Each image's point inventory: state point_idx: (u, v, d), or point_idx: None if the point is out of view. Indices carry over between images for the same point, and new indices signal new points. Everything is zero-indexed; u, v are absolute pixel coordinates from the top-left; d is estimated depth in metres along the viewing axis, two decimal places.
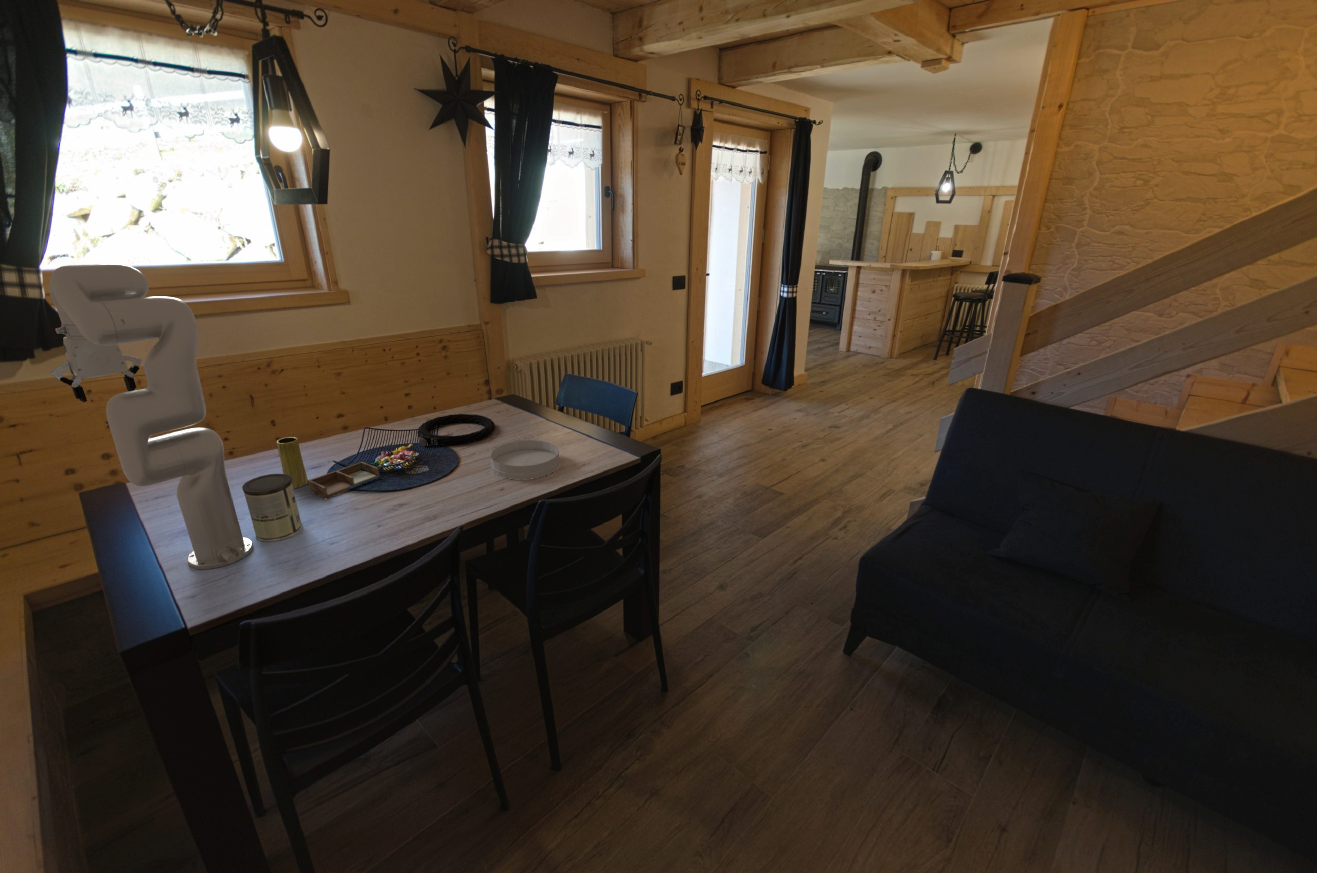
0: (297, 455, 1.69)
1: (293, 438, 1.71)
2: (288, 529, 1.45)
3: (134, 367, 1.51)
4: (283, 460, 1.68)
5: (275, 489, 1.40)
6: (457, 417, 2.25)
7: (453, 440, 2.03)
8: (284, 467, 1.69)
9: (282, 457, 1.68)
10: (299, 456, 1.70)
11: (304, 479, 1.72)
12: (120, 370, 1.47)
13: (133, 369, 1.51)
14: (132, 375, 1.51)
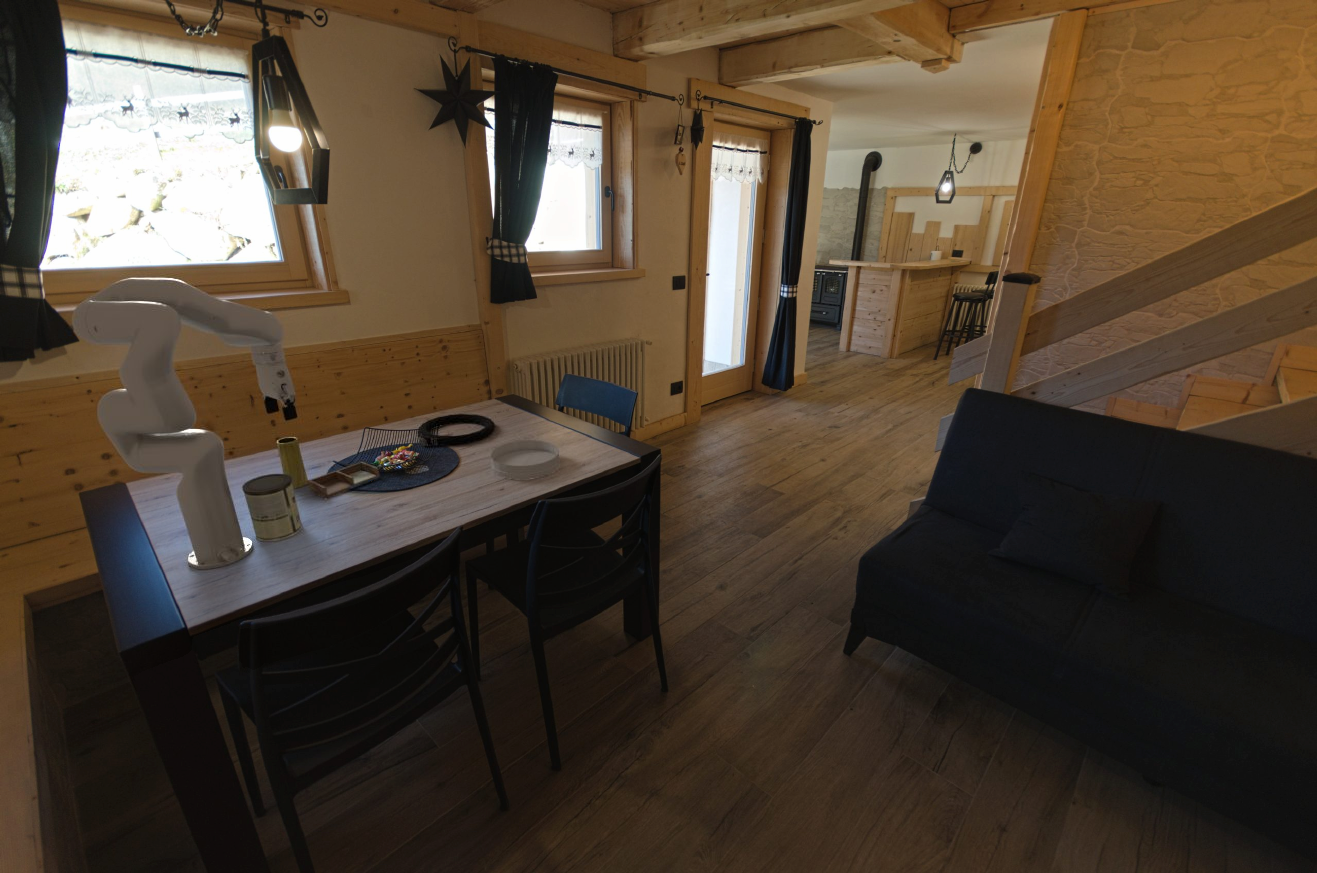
0: (297, 455, 1.69)
1: (293, 438, 1.71)
2: (288, 529, 1.45)
3: None
4: (283, 460, 1.68)
5: (275, 489, 1.40)
6: (457, 417, 2.25)
7: (453, 440, 2.03)
8: (284, 467, 1.69)
9: (282, 457, 1.68)
10: (299, 456, 1.70)
11: (304, 479, 1.72)
12: None
13: None
14: None
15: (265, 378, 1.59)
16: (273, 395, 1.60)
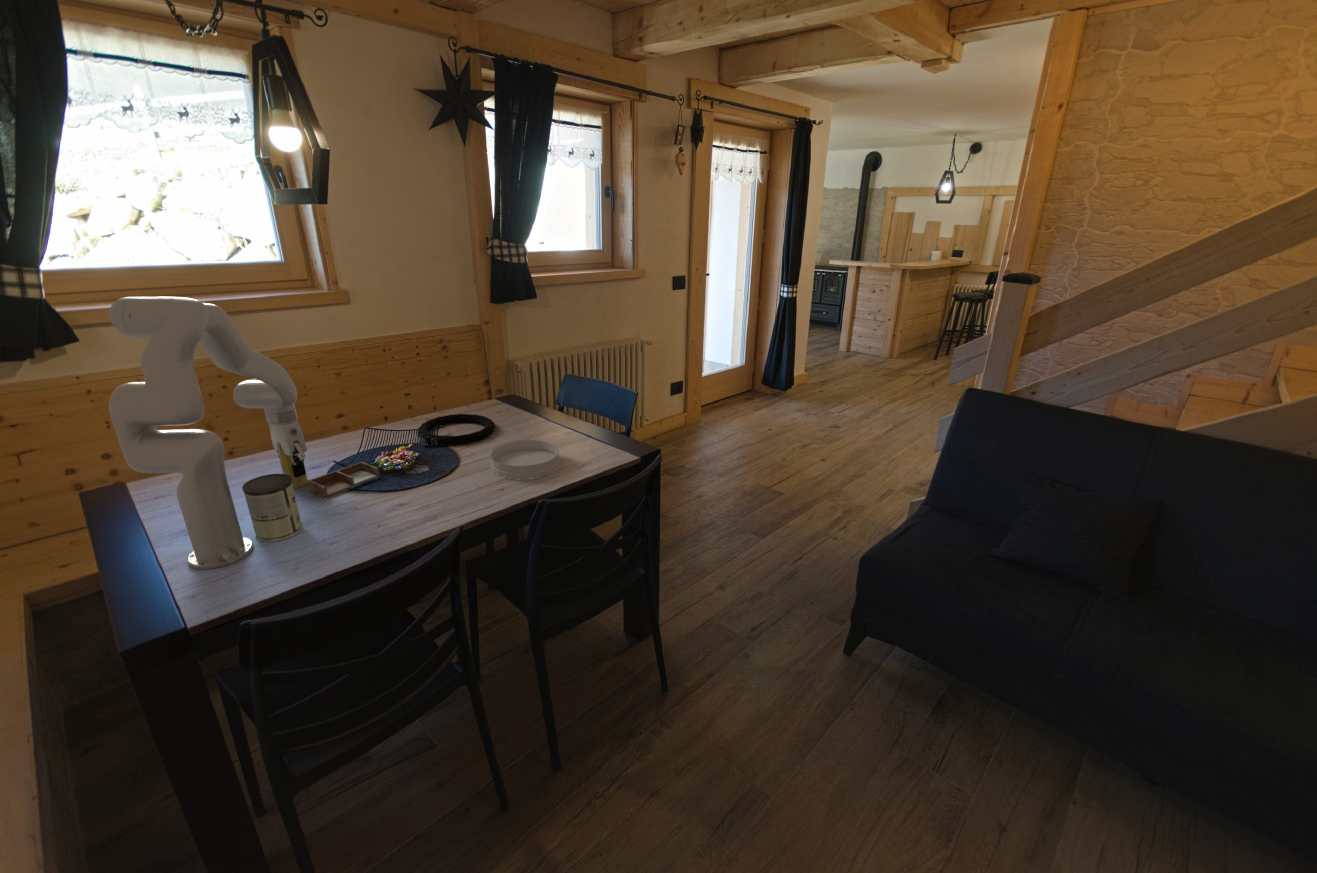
0: (297, 455, 1.69)
1: None
2: (288, 529, 1.45)
3: None
4: (283, 460, 1.68)
5: (275, 489, 1.40)
6: (457, 417, 2.25)
7: (453, 440, 2.03)
8: (284, 467, 1.69)
9: (282, 457, 1.68)
10: None
11: (304, 479, 1.73)
12: None
13: None
14: None
15: (278, 436, 1.65)
16: (285, 452, 1.66)
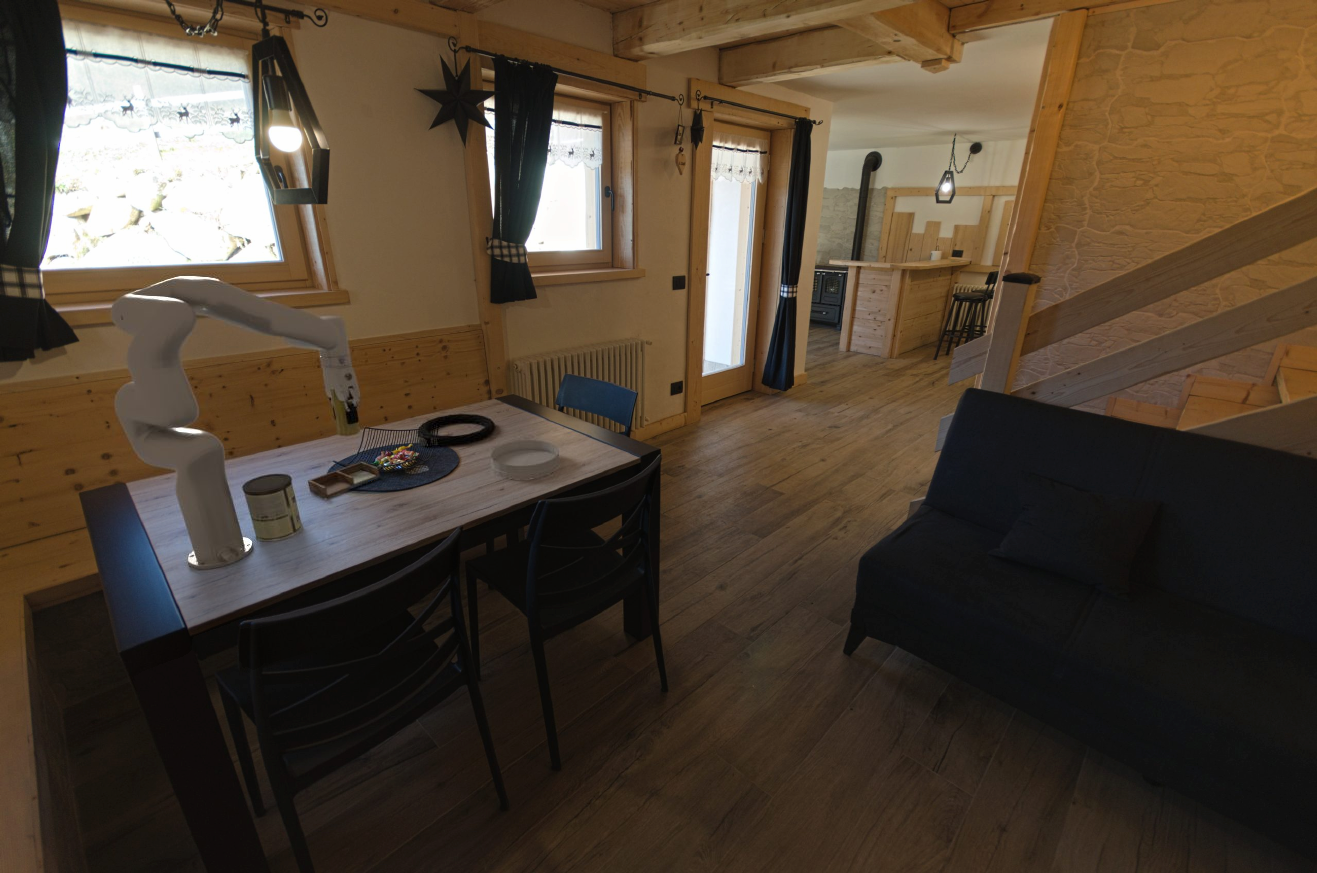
0: None
1: None
2: (288, 529, 1.45)
3: None
4: (337, 406, 1.66)
5: (275, 489, 1.40)
6: (457, 417, 2.25)
7: (453, 440, 2.03)
8: (337, 414, 1.66)
9: (336, 403, 1.65)
10: None
11: (356, 427, 1.70)
12: None
13: None
14: None
15: (333, 381, 1.63)
16: (339, 398, 1.64)
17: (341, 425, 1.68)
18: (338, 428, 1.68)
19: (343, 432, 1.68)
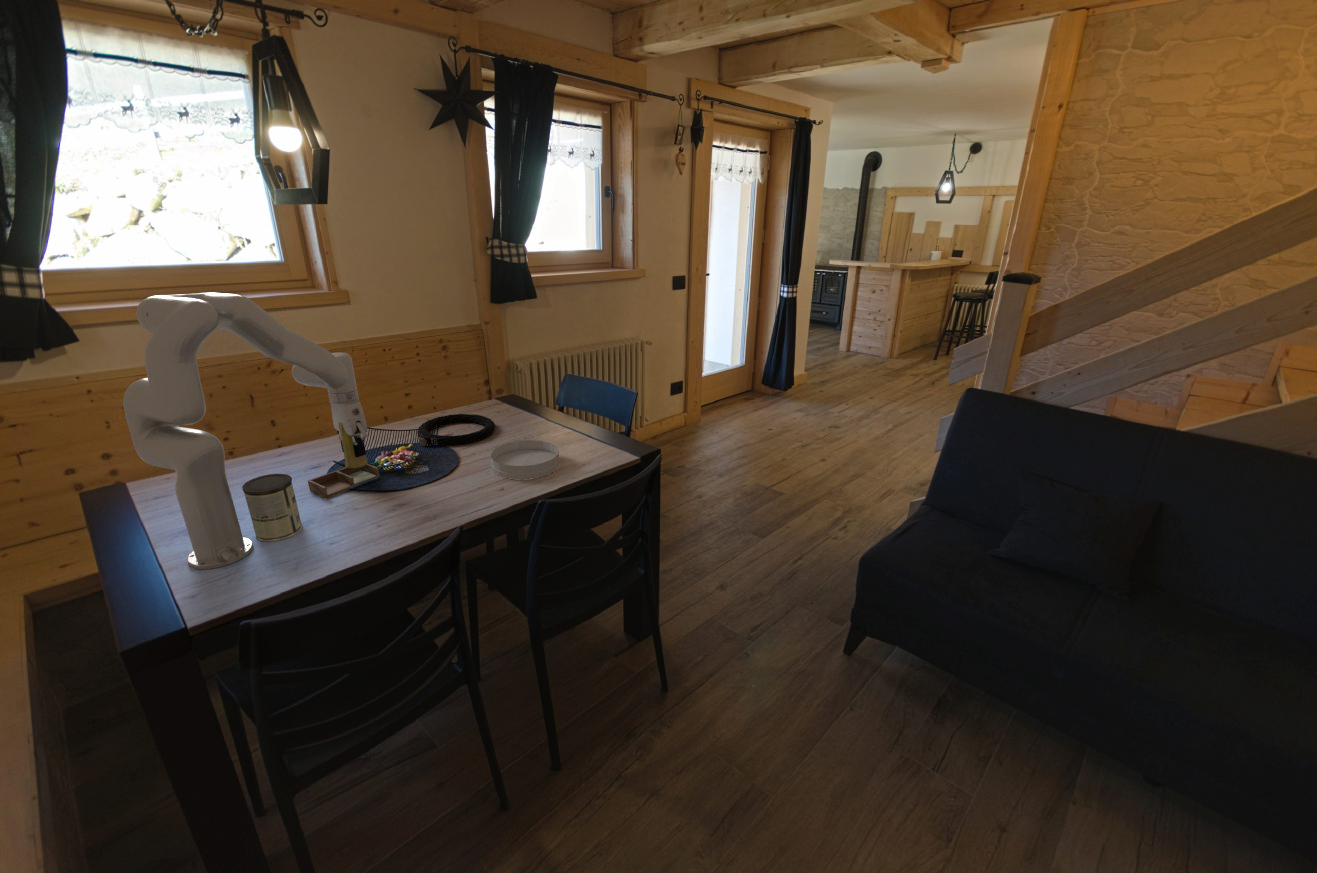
0: None
1: None
2: (288, 529, 1.45)
3: None
4: (345, 440, 1.70)
5: (275, 489, 1.40)
6: (457, 417, 2.25)
7: (453, 440, 2.03)
8: (345, 447, 1.70)
9: (344, 437, 1.69)
10: None
11: (364, 459, 1.74)
12: None
13: None
14: None
15: (341, 416, 1.67)
16: (347, 432, 1.68)
17: (349, 458, 1.71)
18: (346, 461, 1.72)
19: (350, 464, 1.72)
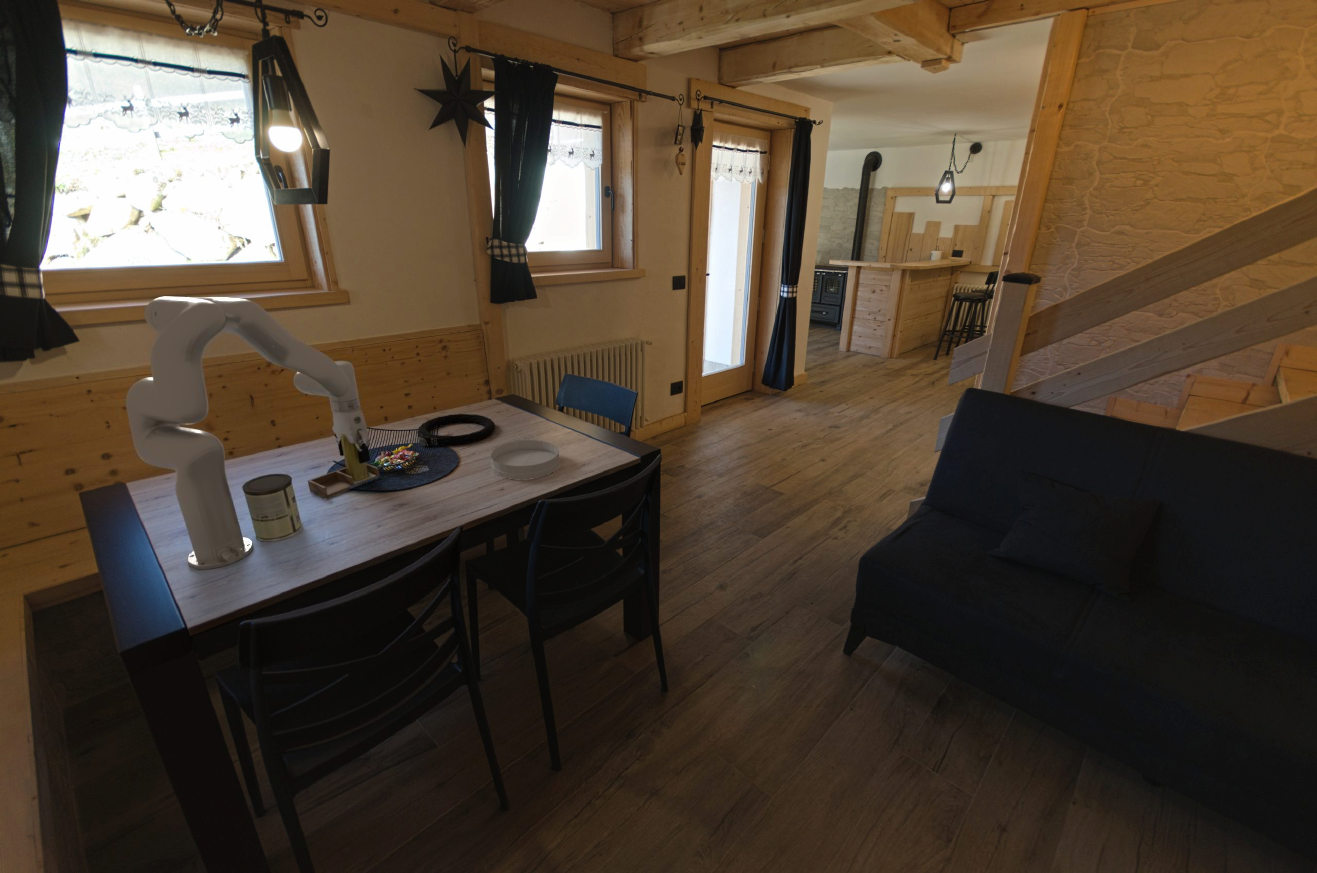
0: None
1: None
2: (288, 529, 1.45)
3: None
4: (346, 453, 1.71)
5: (275, 489, 1.40)
6: (457, 417, 2.25)
7: (453, 440, 2.03)
8: (347, 460, 1.72)
9: (345, 450, 1.71)
10: None
11: (365, 471, 1.75)
12: None
13: None
14: None
15: (342, 424, 1.68)
16: (348, 440, 1.69)
17: (350, 470, 1.73)
18: (347, 473, 1.73)
19: None
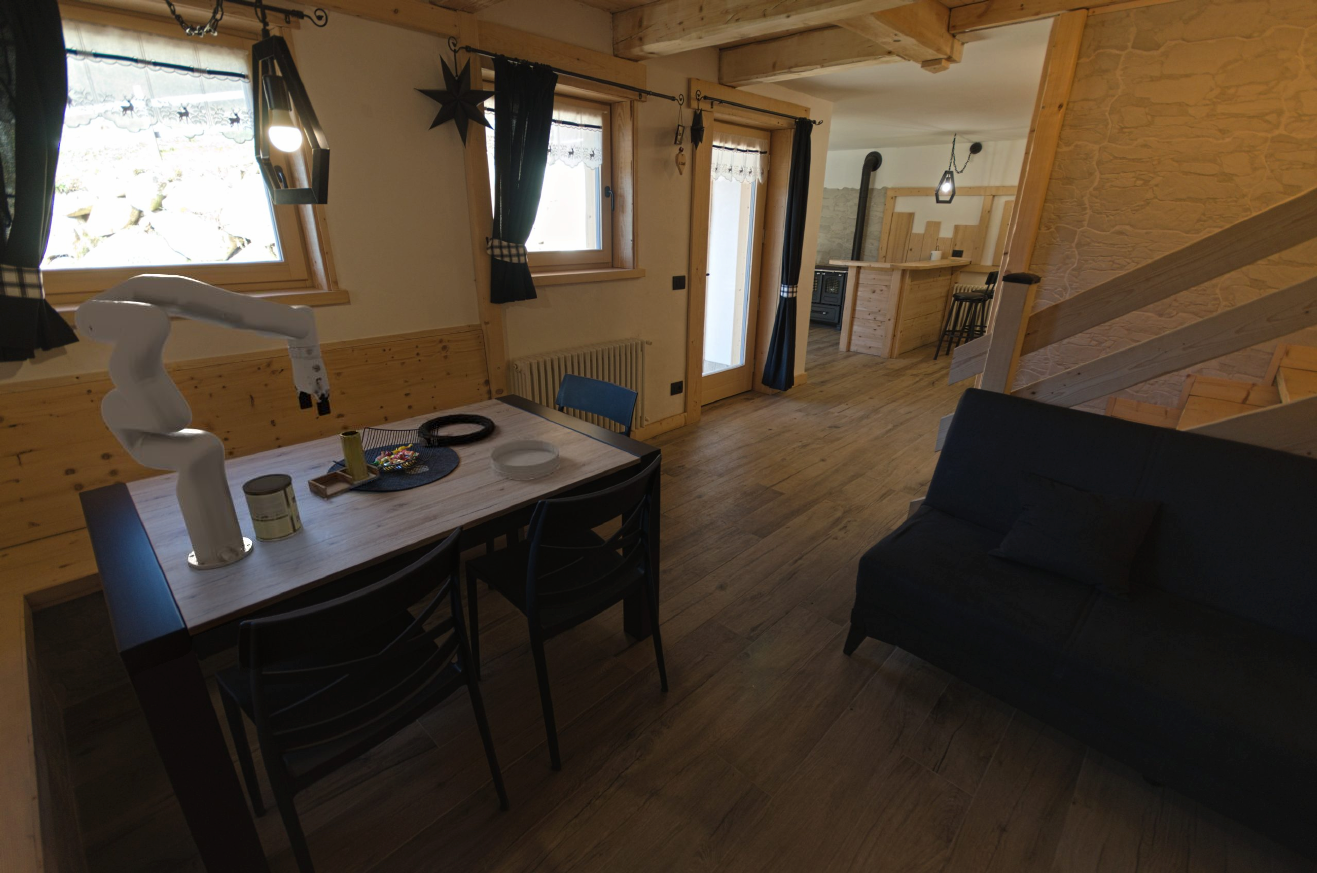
0: (359, 447, 1.72)
1: (355, 431, 1.74)
2: (288, 529, 1.45)
3: None
4: (346, 453, 1.71)
5: (275, 489, 1.40)
6: (457, 417, 2.25)
7: (453, 440, 2.03)
8: (347, 460, 1.72)
9: (345, 450, 1.71)
10: (361, 449, 1.73)
11: (365, 471, 1.75)
12: None
13: None
14: None
15: (301, 372, 1.58)
16: (307, 390, 1.59)
17: (350, 470, 1.73)
18: (347, 473, 1.73)
19: None
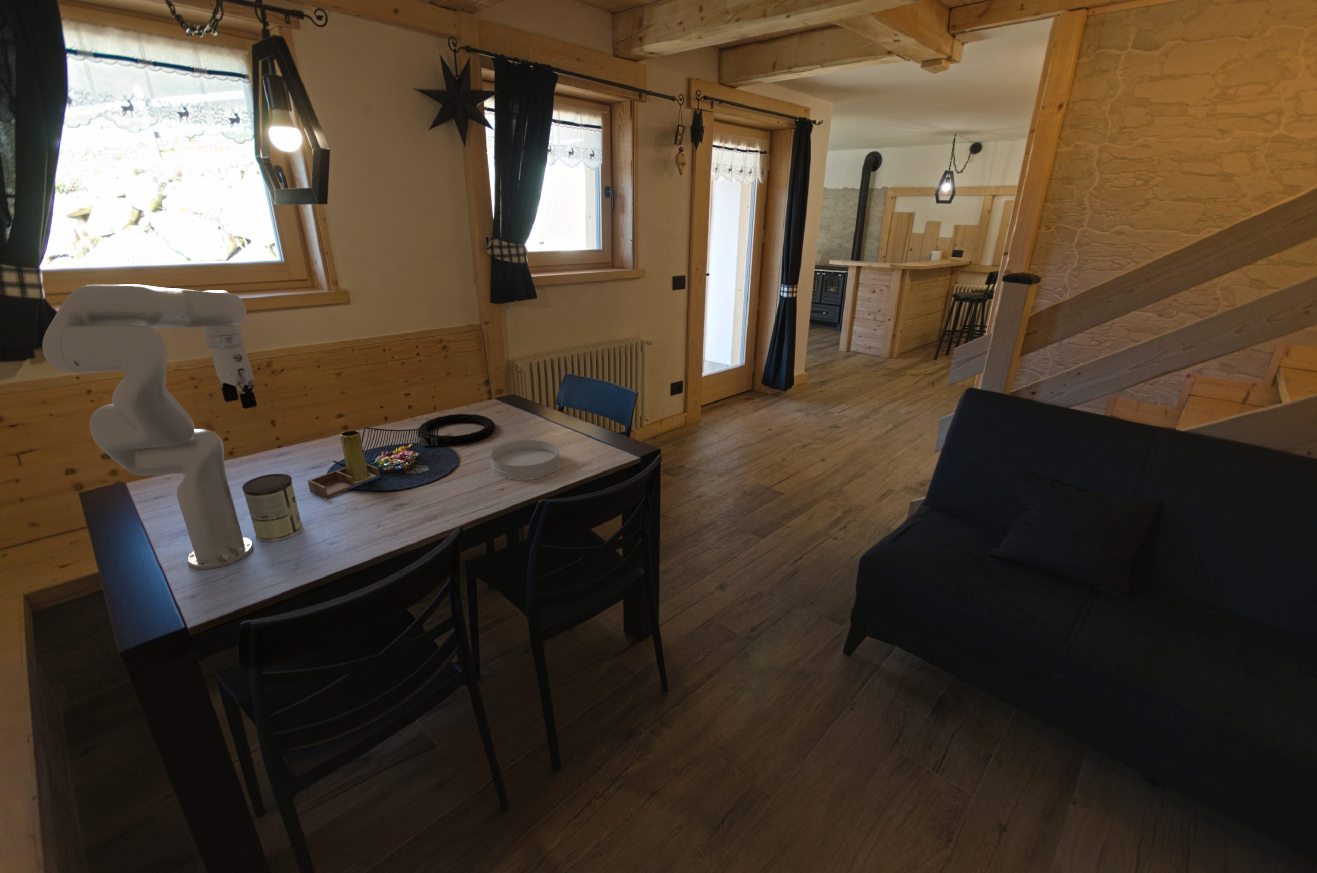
0: (359, 447, 1.72)
1: (355, 431, 1.74)
2: (288, 529, 1.45)
3: None
4: (346, 453, 1.71)
5: (275, 489, 1.40)
6: (457, 417, 2.25)
7: (453, 440, 2.03)
8: (347, 460, 1.72)
9: (345, 450, 1.71)
10: (361, 449, 1.73)
11: (365, 471, 1.75)
12: None
13: None
14: None
15: (221, 362, 1.47)
16: (229, 381, 1.49)
17: (350, 470, 1.73)
18: (347, 473, 1.73)
19: None
